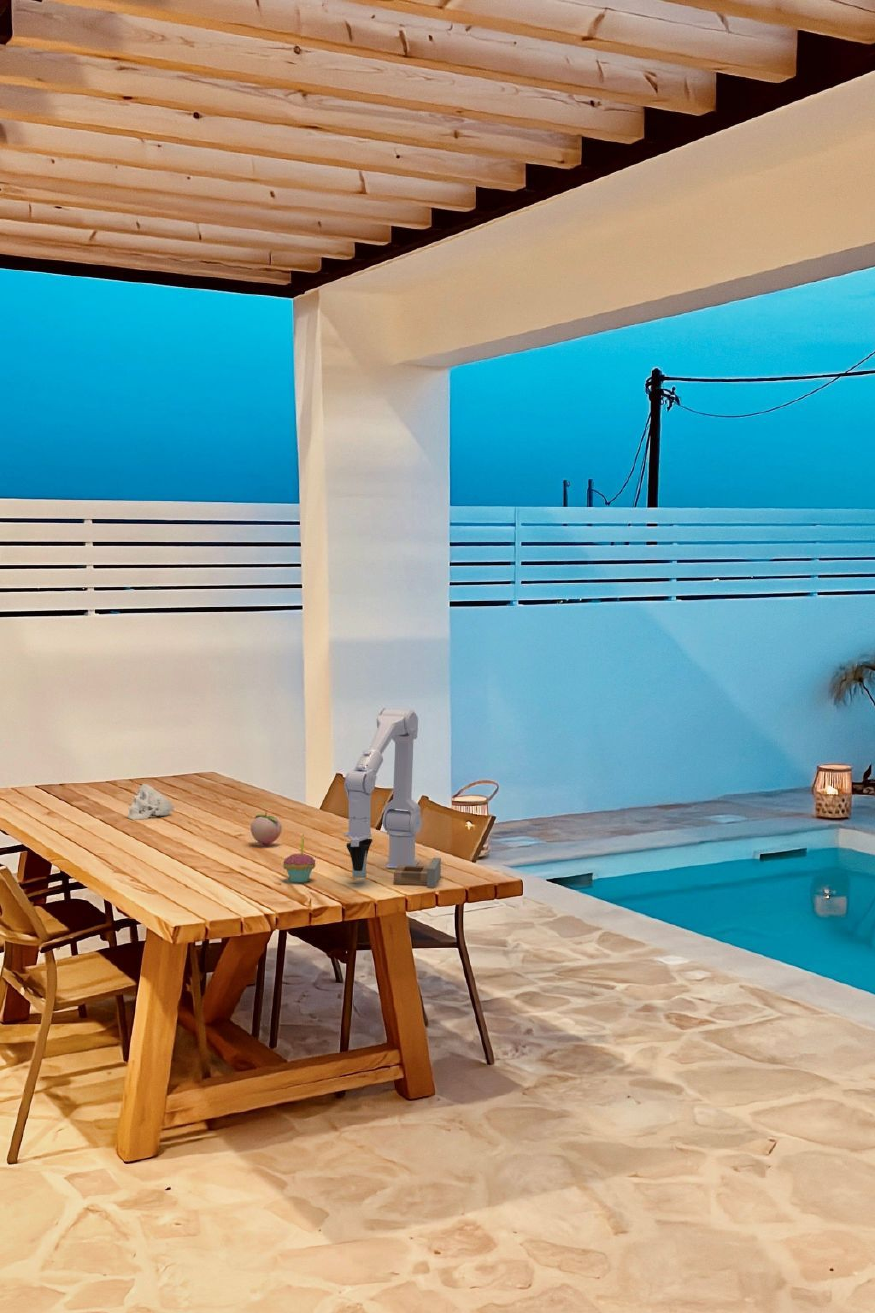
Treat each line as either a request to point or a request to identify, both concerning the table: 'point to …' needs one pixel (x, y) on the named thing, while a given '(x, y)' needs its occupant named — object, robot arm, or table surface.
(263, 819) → the decorative fruit
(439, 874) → the wall
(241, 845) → the table surface
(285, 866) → the cupcake
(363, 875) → the dowel
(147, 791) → the skull bowl
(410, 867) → the brown square frame
